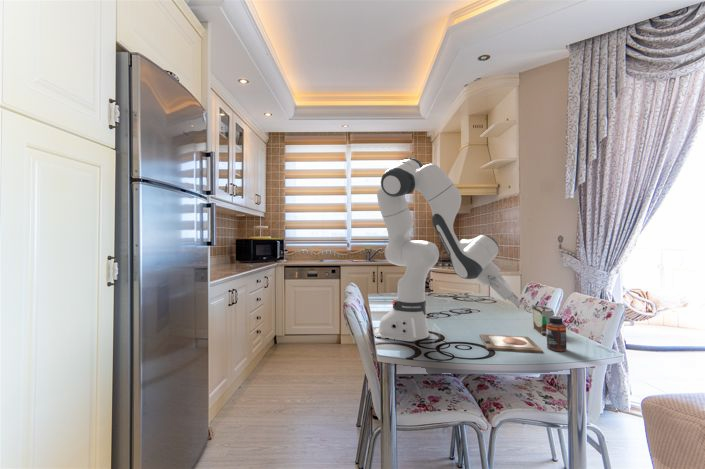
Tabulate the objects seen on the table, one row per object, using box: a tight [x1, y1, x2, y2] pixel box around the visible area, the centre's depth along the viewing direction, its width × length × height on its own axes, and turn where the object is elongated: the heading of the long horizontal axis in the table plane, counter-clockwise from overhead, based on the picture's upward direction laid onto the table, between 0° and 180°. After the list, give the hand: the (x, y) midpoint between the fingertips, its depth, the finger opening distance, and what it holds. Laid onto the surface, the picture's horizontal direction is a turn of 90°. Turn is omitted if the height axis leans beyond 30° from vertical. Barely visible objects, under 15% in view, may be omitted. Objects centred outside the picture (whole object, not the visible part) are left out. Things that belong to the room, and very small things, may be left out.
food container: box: [531, 305, 555, 336], centre depth 135 cm, size 12×6×10 cm, turn 168°
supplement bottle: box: [546, 315, 567, 353], centre depth 114 cm, size 6×6×11 cm
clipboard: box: [479, 333, 544, 354], centre depth 120 cm, size 18×16×2 cm
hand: (517, 302), depth 118 cm, fingers open, 8 cm apart
